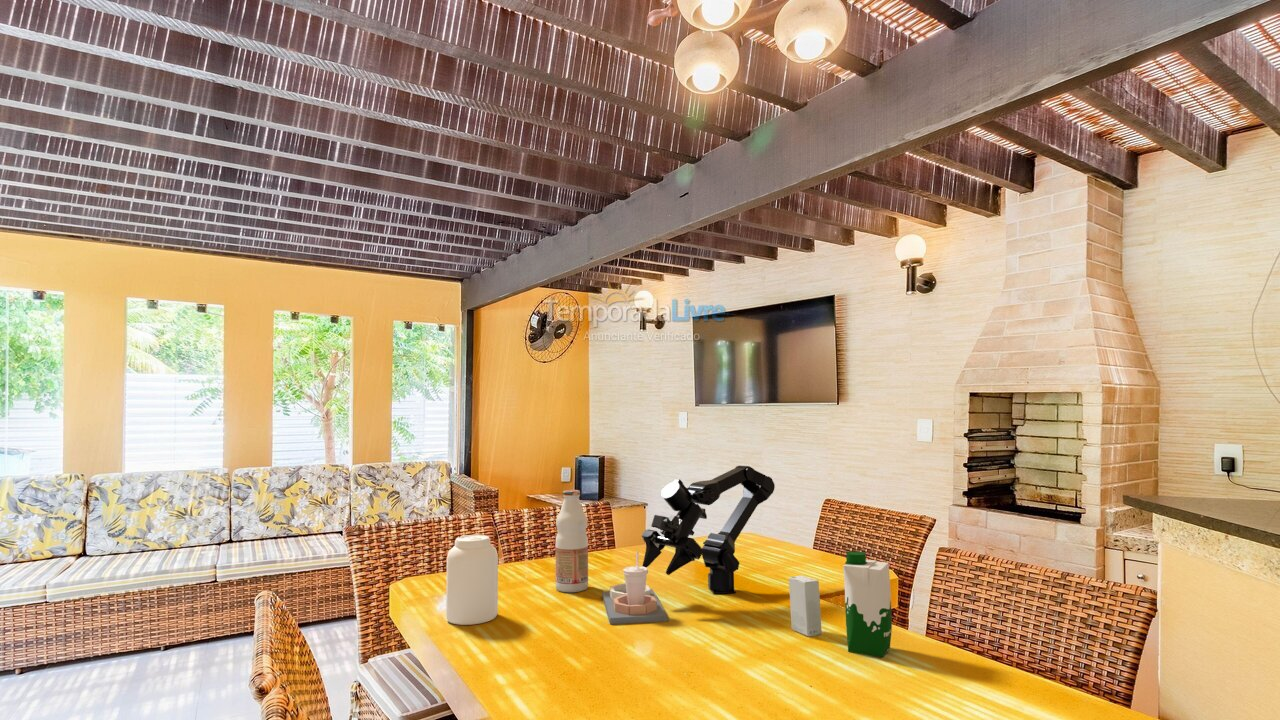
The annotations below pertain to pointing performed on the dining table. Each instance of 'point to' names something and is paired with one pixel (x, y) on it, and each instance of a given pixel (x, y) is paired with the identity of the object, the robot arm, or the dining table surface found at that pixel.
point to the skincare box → (805, 605)
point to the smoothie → (635, 583)
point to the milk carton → (867, 605)
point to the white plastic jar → (472, 581)
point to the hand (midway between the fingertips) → (655, 570)
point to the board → (632, 607)
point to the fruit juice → (571, 545)
